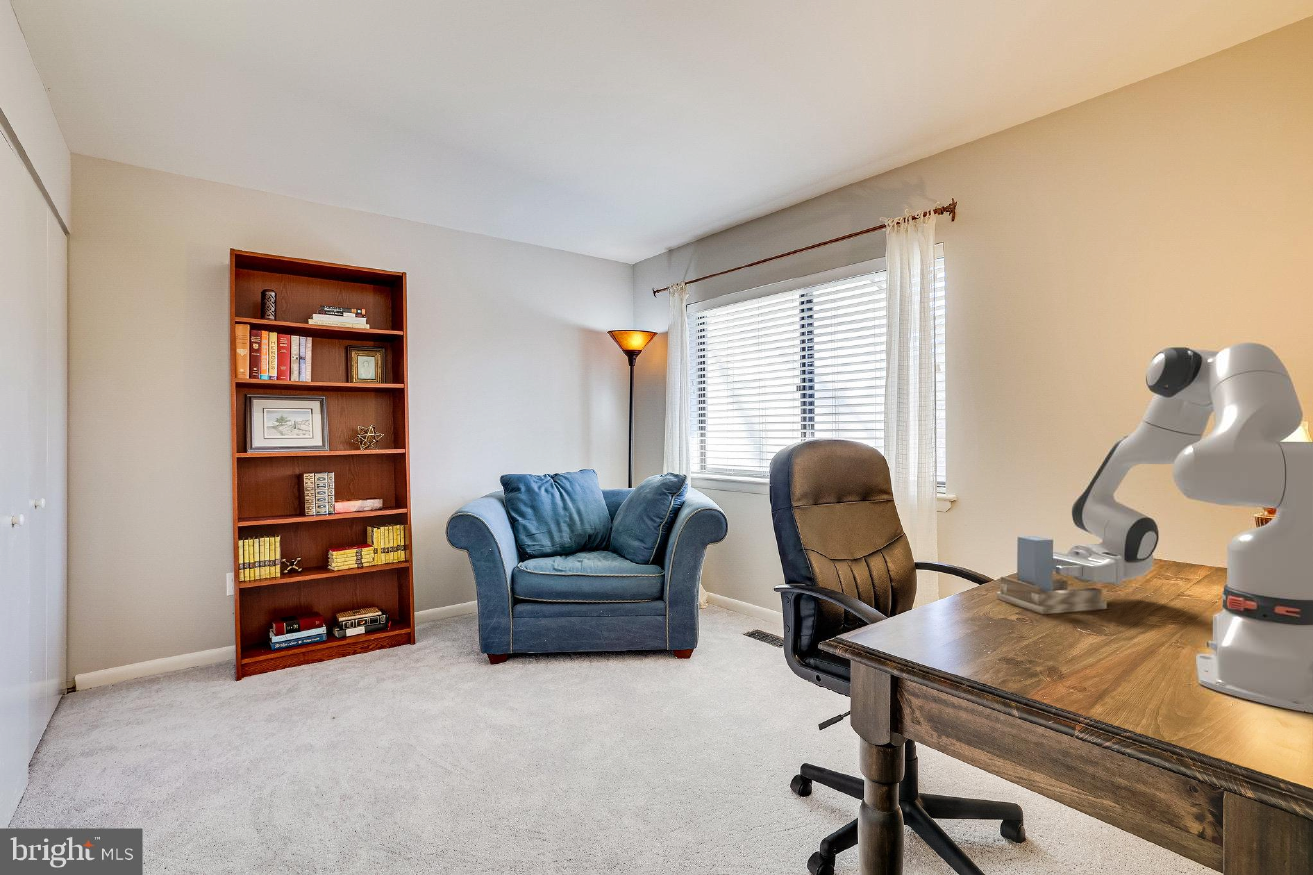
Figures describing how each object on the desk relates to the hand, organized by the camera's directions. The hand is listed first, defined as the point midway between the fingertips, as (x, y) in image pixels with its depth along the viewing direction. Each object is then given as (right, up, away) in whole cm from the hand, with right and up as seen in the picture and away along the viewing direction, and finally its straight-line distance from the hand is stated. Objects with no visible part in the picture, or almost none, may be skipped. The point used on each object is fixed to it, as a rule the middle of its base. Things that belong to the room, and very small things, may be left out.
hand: (1040, 566), depth 145 cm
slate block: (-2, -7, 0) cm, 8 cm away
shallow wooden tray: (+3, -9, +1) cm, 9 cm away
